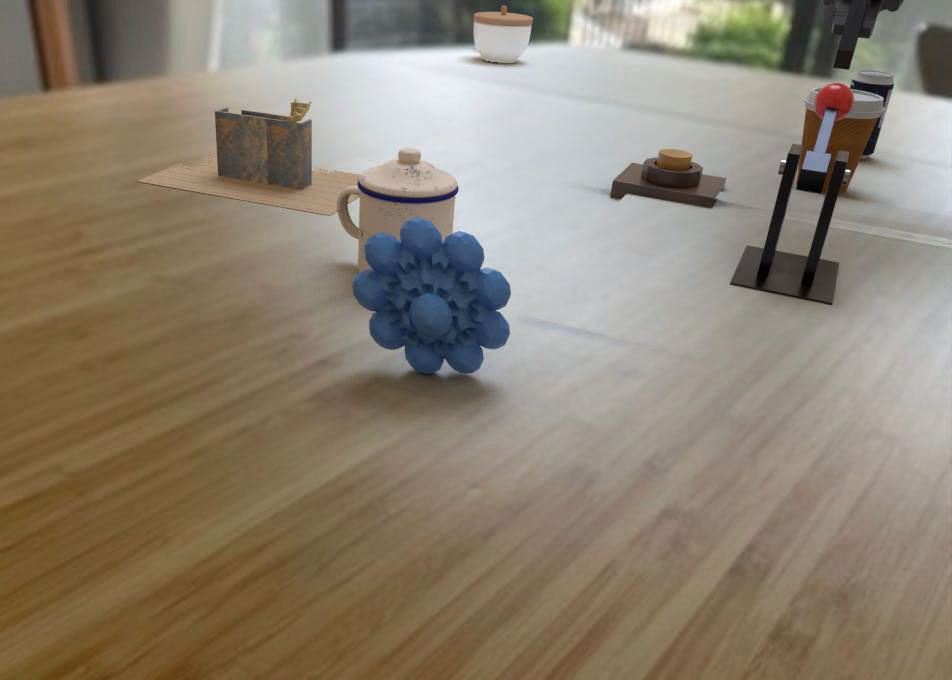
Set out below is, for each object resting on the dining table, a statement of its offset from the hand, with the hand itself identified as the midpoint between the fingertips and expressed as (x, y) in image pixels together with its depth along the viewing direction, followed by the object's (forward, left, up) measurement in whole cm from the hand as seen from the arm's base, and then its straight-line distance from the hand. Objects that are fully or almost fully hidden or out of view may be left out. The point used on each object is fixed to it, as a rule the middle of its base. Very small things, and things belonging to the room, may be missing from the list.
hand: (843, 59), depth 89 cm
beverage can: (-4, -50, -20) cm, 54 cm away
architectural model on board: (+60, +12, -20) cm, 64 cm away
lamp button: (+16, -11, -16) cm, 25 cm away
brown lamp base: (+16, -11, -19) cm, 27 cm away
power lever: (0, +6, -7) cm, 10 cm away
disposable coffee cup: (-1, -28, -20) cm, 34 cm away
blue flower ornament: (+22, +48, -20) cm, 56 cm away
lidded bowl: (+69, -93, -20) cm, 117 cm away
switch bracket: (0, +12, -19) cm, 23 cm away
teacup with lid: (+34, +30, -20) cm, 49 cm away
